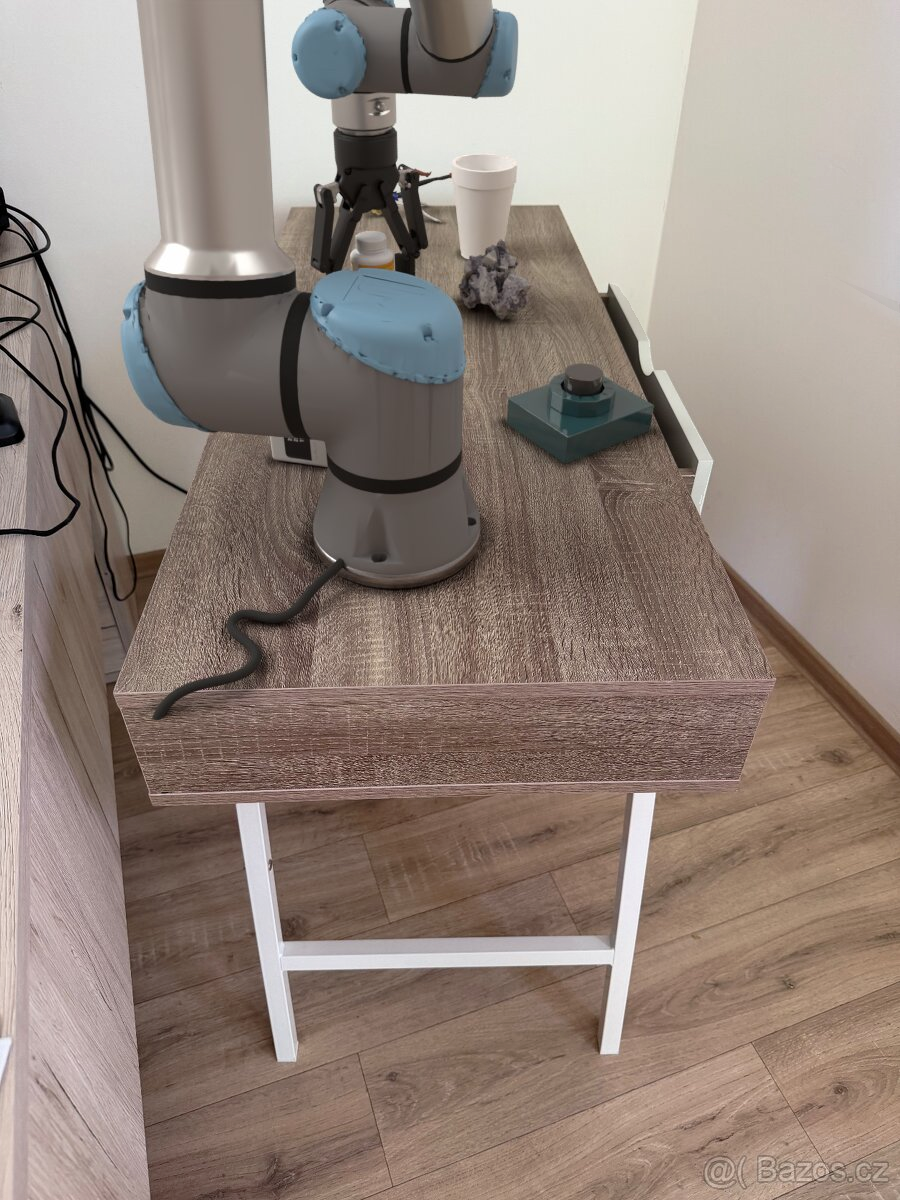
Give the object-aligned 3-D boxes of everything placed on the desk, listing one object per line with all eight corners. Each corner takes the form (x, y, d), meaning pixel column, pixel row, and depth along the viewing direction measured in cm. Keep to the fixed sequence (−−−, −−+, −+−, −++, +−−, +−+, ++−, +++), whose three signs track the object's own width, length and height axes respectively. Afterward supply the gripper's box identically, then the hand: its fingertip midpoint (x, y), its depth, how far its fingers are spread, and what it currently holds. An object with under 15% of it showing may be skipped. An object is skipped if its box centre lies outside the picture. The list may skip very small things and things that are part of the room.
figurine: (368, 247, 160) (479, 213, 157) (361, 247, 152) (477, 211, 149) (350, 185, 157) (463, 149, 154) (342, 181, 149) (461, 144, 146)
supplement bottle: (403, 315, 122) (401, 237, 116) (369, 326, 119) (365, 246, 113) (379, 302, 125) (375, 225, 119) (345, 312, 123) (340, 234, 116)
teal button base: (565, 464, 94) (569, 421, 91) (506, 423, 101) (508, 382, 97) (649, 431, 100) (657, 389, 96) (589, 394, 106) (593, 354, 103)
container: (343, 471, 93) (334, 351, 85) (271, 461, 94) (255, 342, 86) (366, 433, 99) (359, 317, 90) (298, 424, 100) (285, 309, 92)
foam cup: (440, 248, 141) (441, 157, 133) (494, 239, 144) (497, 150, 136) (467, 269, 135) (469, 175, 126) (523, 259, 138) (528, 167, 129)
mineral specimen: (537, 303, 116) (512, 224, 114) (468, 329, 118) (442, 251, 116) (537, 311, 128) (514, 240, 126) (474, 335, 129) (451, 265, 128)
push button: (580, 402, 95) (582, 384, 94) (555, 387, 98) (557, 369, 96) (608, 392, 97) (611, 374, 95) (584, 377, 99) (585, 359, 98)
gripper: (297, 148, 101) (315, 342, 115) (458, 121, 110) (455, 303, 125) (267, 133, 105) (288, 321, 120) (423, 108, 115) (425, 285, 129)
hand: (373, 312), depth 122 cm, fingers open, 9 cm apart
